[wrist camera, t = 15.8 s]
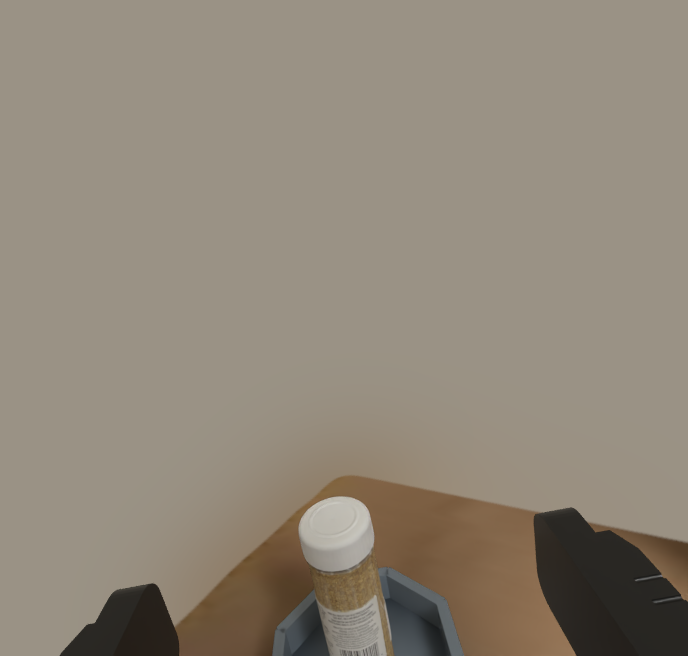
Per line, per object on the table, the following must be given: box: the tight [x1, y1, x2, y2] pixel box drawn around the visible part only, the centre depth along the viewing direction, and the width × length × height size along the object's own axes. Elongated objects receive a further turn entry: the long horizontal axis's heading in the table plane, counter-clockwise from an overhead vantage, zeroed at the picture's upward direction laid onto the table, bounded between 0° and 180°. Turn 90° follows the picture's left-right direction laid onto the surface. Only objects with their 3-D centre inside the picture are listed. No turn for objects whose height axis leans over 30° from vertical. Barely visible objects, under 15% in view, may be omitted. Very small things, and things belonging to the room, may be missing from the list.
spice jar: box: [299, 496, 395, 656], centre depth 28 cm, size 5×5×13 cm
